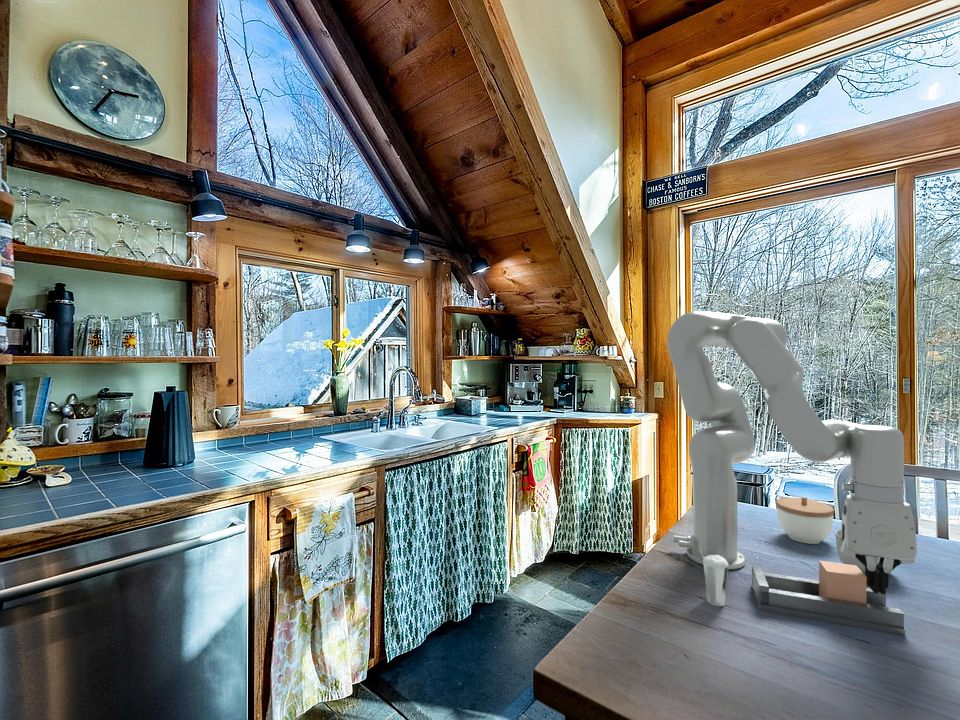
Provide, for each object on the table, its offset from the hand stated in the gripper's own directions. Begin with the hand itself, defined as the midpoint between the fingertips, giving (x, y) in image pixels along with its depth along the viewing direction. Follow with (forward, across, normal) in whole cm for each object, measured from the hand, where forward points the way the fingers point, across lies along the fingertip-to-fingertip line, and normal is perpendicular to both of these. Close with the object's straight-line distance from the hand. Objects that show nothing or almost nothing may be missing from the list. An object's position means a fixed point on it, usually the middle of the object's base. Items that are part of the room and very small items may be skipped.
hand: (876, 590), depth 86 cm
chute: (+5, -9, 0) cm, 10 cm away
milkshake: (+5, -28, -5) cm, 29 cm away
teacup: (+5, +6, +24) cm, 25 cm away
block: (+4, -5, 0) cm, 7 cm away
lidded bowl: (+5, -2, +39) cm, 39 cm away
